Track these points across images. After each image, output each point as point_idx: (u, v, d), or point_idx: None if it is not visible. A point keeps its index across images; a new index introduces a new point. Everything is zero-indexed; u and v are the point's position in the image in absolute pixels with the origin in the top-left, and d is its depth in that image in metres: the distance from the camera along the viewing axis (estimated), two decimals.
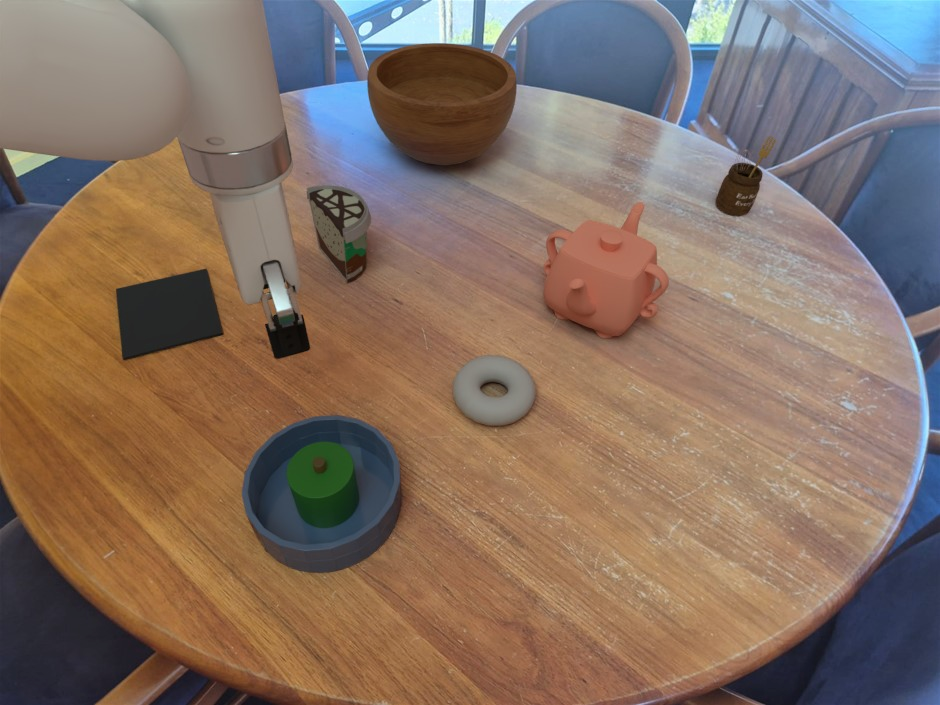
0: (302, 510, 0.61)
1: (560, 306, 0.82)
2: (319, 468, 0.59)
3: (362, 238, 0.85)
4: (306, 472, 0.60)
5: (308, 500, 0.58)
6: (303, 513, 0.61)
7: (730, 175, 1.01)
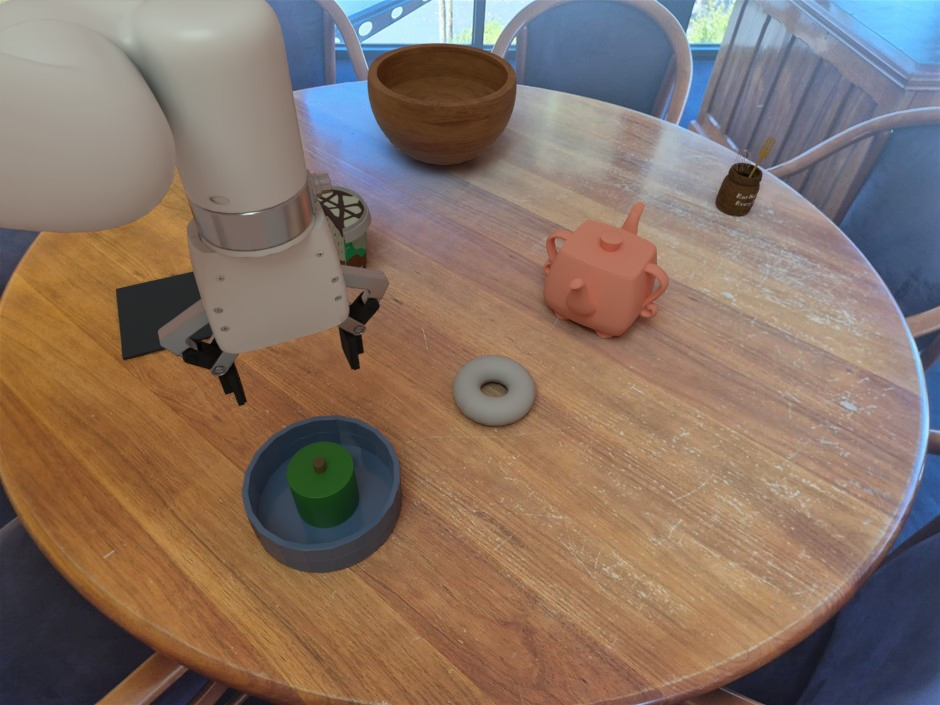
0: (302, 510, 0.61)
1: (560, 306, 0.82)
2: (319, 468, 0.59)
3: (362, 238, 0.85)
4: (306, 472, 0.60)
5: (308, 500, 0.58)
6: (303, 513, 0.61)
7: (730, 175, 1.01)
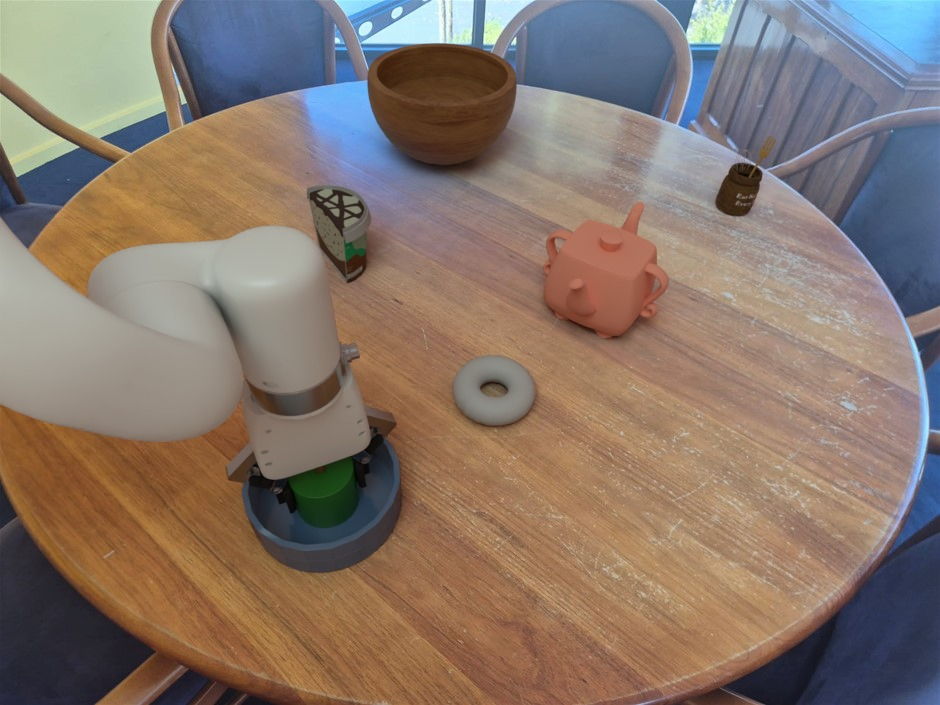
0: (302, 510, 0.61)
1: (560, 306, 0.82)
2: (319, 468, 0.59)
3: (362, 238, 0.85)
4: (306, 472, 0.60)
5: (308, 500, 0.58)
6: (303, 513, 0.61)
7: (730, 175, 1.01)
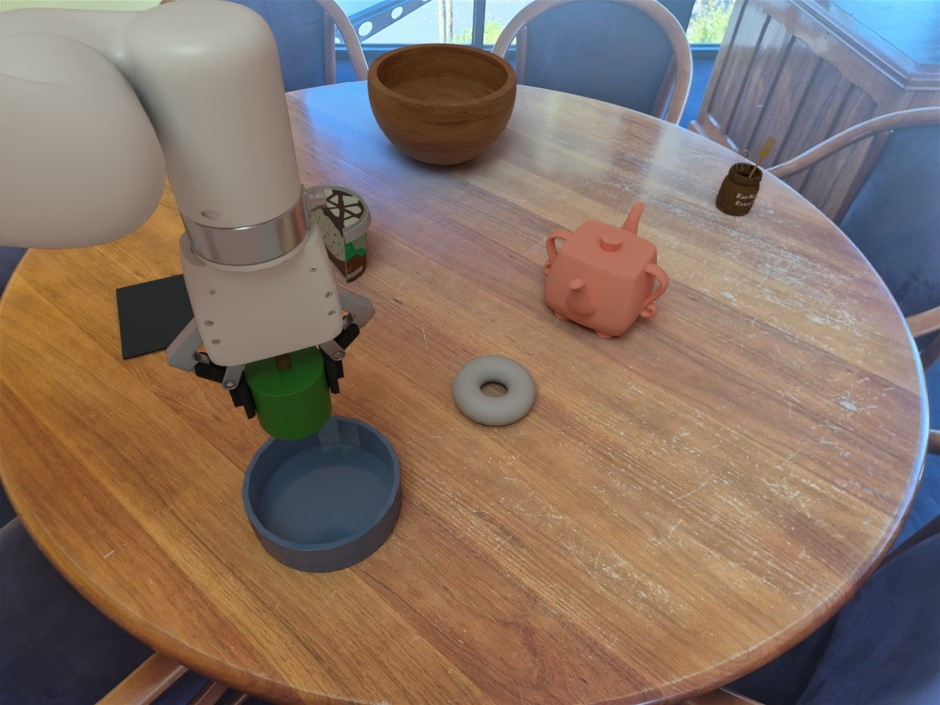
0: (262, 416, 0.51)
1: (560, 306, 0.82)
2: (282, 363, 0.50)
3: (362, 238, 0.85)
4: (268, 369, 0.50)
5: (267, 399, 0.49)
6: (264, 420, 0.52)
7: (730, 175, 1.01)
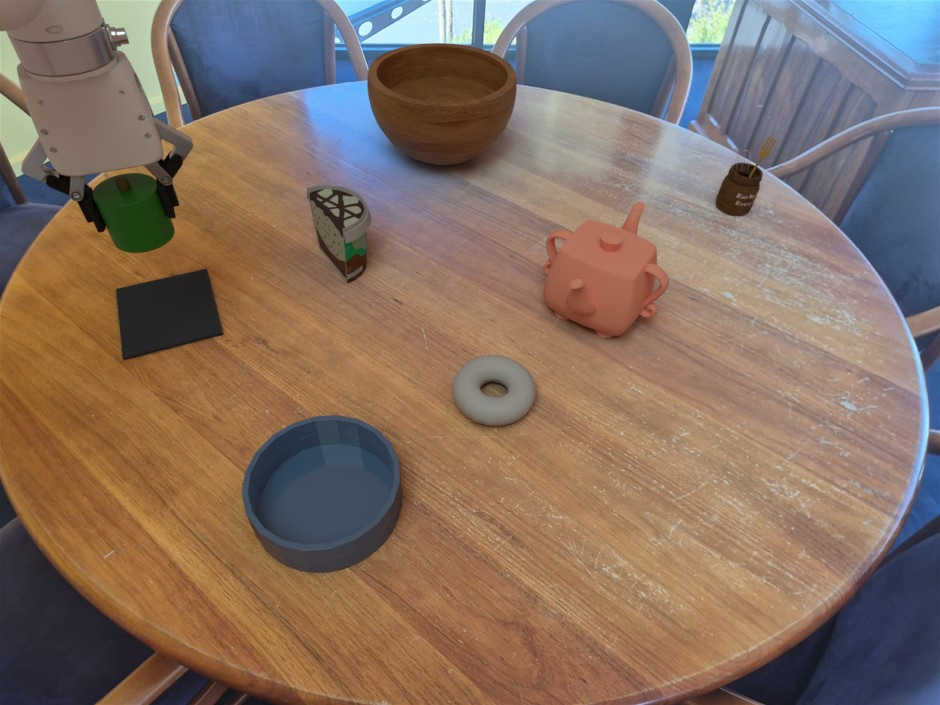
0: (110, 230, 0.66)
1: (560, 306, 0.82)
2: (121, 184, 0.64)
3: (362, 238, 0.85)
4: (111, 190, 0.65)
5: (108, 210, 0.63)
6: (112, 234, 0.66)
7: (730, 175, 1.01)
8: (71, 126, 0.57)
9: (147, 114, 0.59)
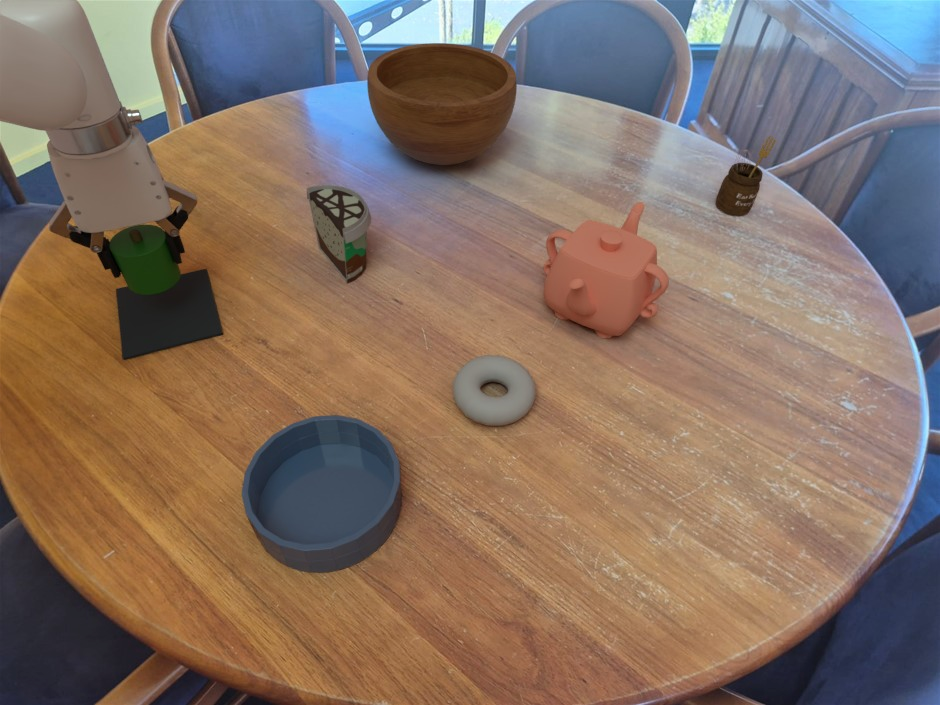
0: (125, 275, 0.75)
1: (560, 306, 0.82)
2: (134, 236, 0.73)
3: (362, 238, 0.85)
4: (126, 242, 0.74)
5: (123, 260, 0.73)
6: (126, 279, 0.76)
7: (730, 175, 1.01)
8: (93, 193, 0.66)
9: (158, 179, 0.69)
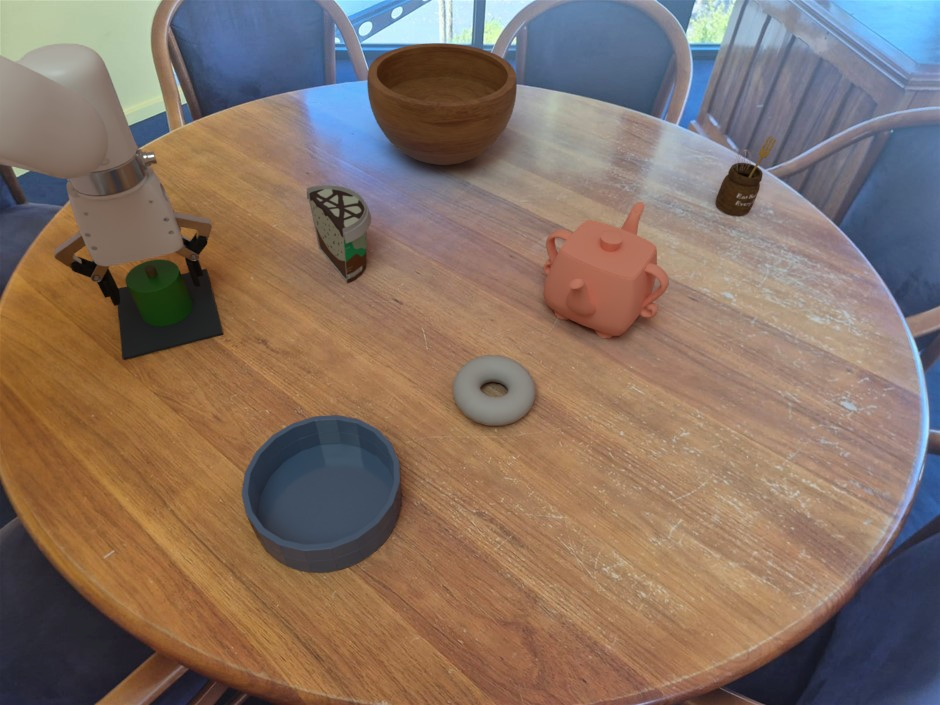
0: (140, 308, 0.79)
1: (560, 306, 0.82)
2: (149, 272, 0.77)
3: (362, 238, 0.85)
4: (141, 277, 0.78)
5: (139, 295, 0.77)
6: (141, 312, 0.80)
7: (730, 175, 1.01)
8: (109, 230, 0.70)
9: (171, 216, 0.72)
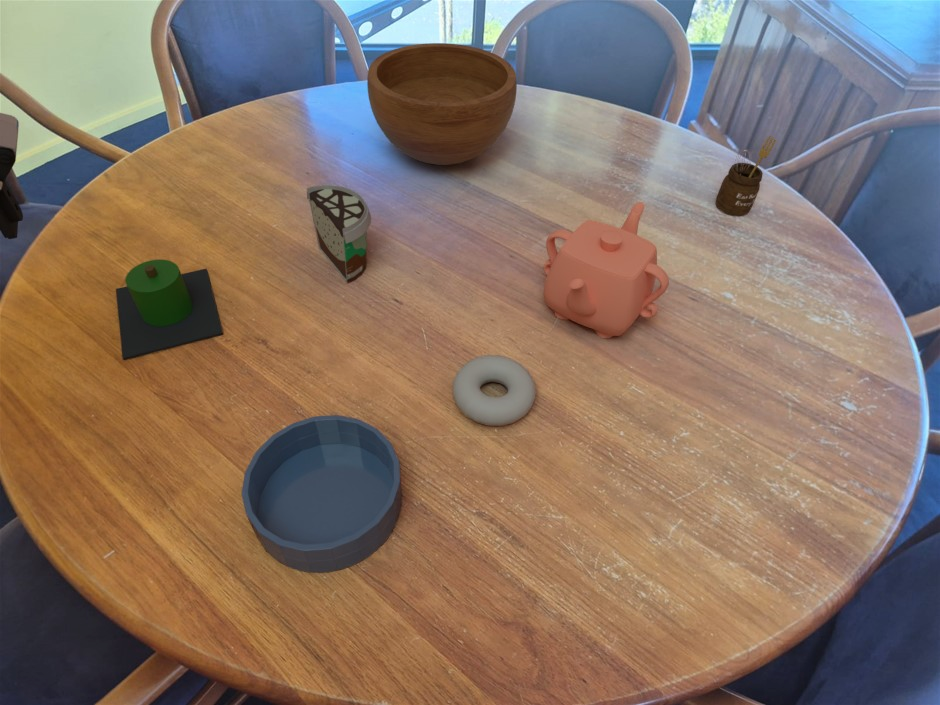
0: (140, 308, 0.79)
1: (560, 306, 0.82)
2: (149, 272, 0.77)
3: (362, 238, 0.85)
4: (141, 277, 0.78)
5: (139, 295, 0.77)
6: (141, 312, 0.80)
7: (730, 175, 1.01)
8: None
9: None
